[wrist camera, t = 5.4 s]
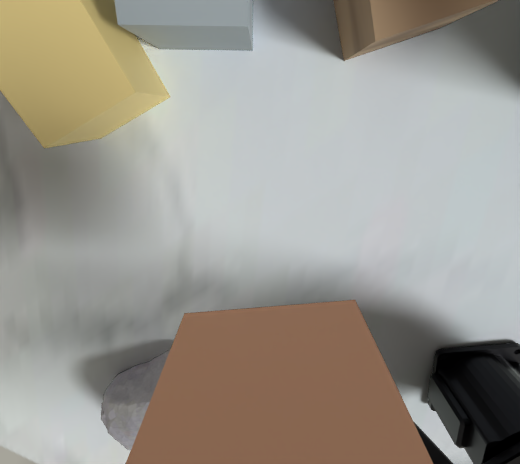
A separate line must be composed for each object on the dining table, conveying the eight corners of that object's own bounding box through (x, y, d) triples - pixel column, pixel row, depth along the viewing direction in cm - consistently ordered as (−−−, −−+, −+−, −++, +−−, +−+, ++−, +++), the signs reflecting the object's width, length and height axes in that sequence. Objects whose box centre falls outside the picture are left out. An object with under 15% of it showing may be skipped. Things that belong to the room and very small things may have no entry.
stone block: (206, 320, 25) (101, 375, 25) (208, 361, 21) (80, 428, 21) (264, 404, 30) (175, 451, 29) (275, 453, 25) (171, 509, 25)
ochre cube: (116, 1, 15) (52, -46, 11) (170, 97, 17) (135, 92, 12) (43, 52, 16) (-46, 29, 11) (101, 138, 18) (44, 148, 13)
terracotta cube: (354, 299, 9) (463, 525, 4) (352, 418, 10) (423, 664, 6) (184, 313, 9) (96, 540, 4) (212, 426, 11) (172, 668, 6)
